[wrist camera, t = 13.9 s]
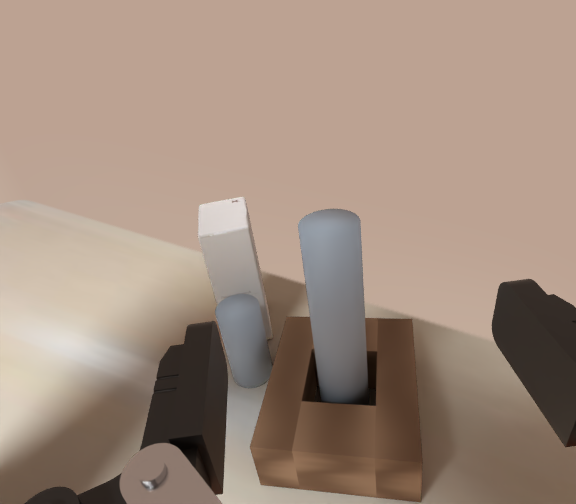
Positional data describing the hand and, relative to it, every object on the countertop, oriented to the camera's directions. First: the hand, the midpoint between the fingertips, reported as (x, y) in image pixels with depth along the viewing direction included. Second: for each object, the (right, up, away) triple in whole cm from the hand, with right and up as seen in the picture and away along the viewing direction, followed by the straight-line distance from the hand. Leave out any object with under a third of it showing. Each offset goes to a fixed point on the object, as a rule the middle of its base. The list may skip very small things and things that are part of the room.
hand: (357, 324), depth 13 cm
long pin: (+2, -10, +20) cm, 22 cm away
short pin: (-5, -8, +25) cm, 27 cm away
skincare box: (-6, -5, +30) cm, 31 cm away
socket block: (+2, -10, +20) cm, 22 cm away
